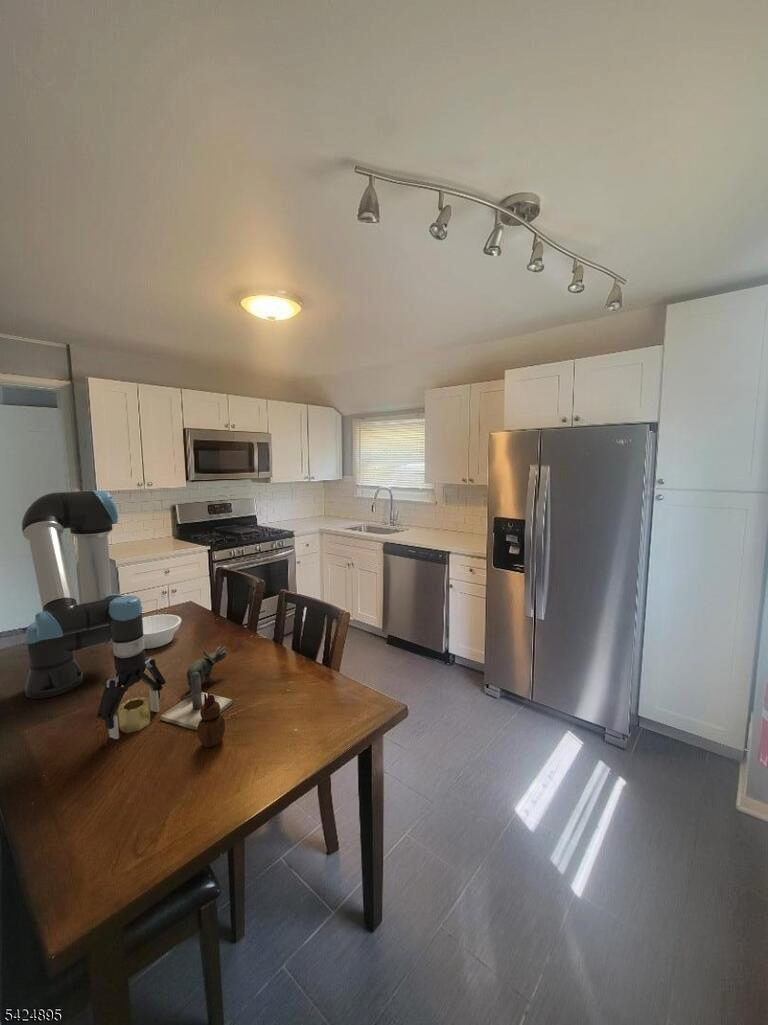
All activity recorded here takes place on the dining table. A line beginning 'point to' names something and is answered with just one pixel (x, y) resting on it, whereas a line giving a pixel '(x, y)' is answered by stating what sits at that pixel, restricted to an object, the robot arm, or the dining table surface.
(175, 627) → the bowl
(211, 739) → the wooden figurine
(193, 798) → the dining table surface
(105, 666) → the dining table surface
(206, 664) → the dinosaur figurine
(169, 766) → the dining table surface
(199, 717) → the post board
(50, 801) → the dining table surface
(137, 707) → the sleeve
